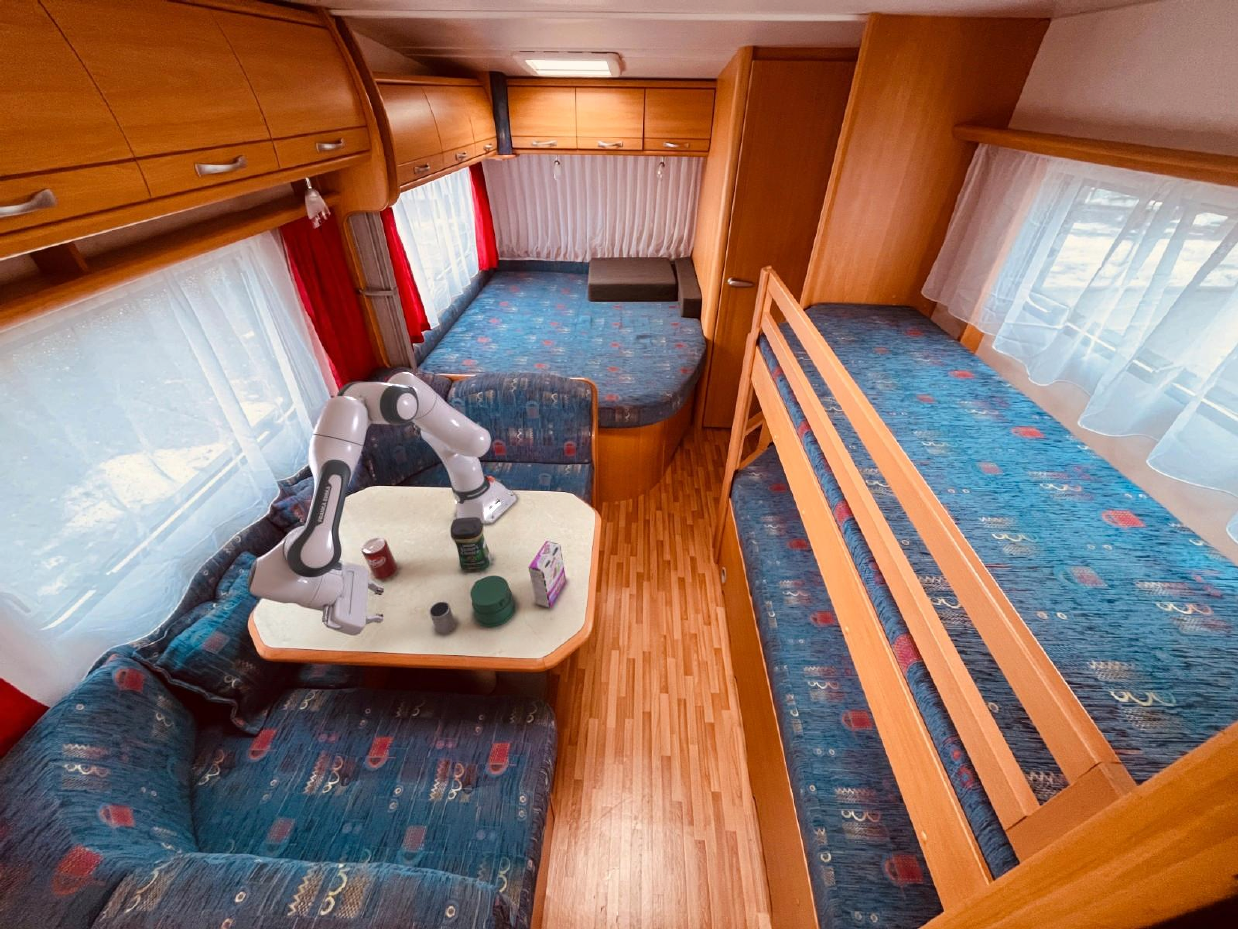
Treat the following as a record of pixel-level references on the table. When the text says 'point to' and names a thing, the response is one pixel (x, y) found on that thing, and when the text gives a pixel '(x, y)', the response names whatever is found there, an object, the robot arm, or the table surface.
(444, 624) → the steel cup
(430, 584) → the table surface
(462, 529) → the coffee jar
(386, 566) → the soda can
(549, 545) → the candy bar box
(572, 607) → the table surface
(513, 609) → the bucket
